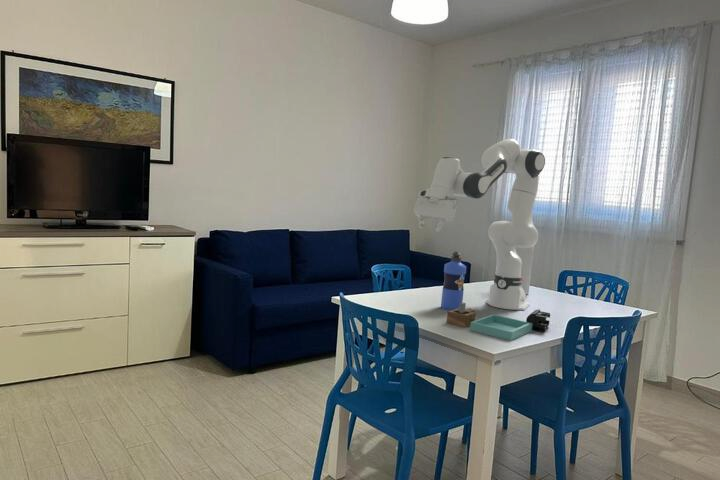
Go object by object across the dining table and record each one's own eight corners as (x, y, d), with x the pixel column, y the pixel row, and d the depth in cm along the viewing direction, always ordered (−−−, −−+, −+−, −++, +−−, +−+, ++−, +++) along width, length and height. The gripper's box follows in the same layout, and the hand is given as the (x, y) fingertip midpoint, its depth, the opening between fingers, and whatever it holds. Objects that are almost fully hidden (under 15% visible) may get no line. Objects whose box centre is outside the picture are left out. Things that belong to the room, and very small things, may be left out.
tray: (492, 321, 210) (493, 314, 210) (531, 330, 200) (532, 323, 200) (469, 330, 194) (470, 321, 194) (511, 340, 184) (511, 332, 184)
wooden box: (462, 317, 213) (463, 306, 212) (480, 322, 208) (481, 310, 207) (446, 322, 203) (447, 311, 202) (465, 327, 198) (466, 315, 197)
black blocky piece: (530, 324, 211) (532, 308, 210) (548, 328, 207) (550, 311, 207) (525, 329, 202) (527, 312, 201) (544, 333, 199) (546, 315, 198)
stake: (459, 322, 205) (461, 302, 204) (464, 323, 203) (466, 303, 203) (456, 323, 203) (458, 303, 202) (461, 324, 202) (463, 304, 201)
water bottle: (436, 307, 228) (441, 250, 225) (448, 304, 235) (453, 249, 232) (454, 312, 222) (460, 253, 219) (466, 309, 228) (471, 252, 226)
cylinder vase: (505, 293, 273) (510, 246, 270) (503, 289, 285) (508, 243, 282) (530, 296, 271) (535, 248, 268) (526, 291, 283) (531, 246, 280)
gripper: (463, 200, 200) (453, 234, 199) (427, 196, 216) (417, 228, 216) (452, 194, 196) (442, 229, 195) (416, 191, 213) (406, 223, 212)
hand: (428, 229), depth 206 cm, fingers open, 8 cm apart
